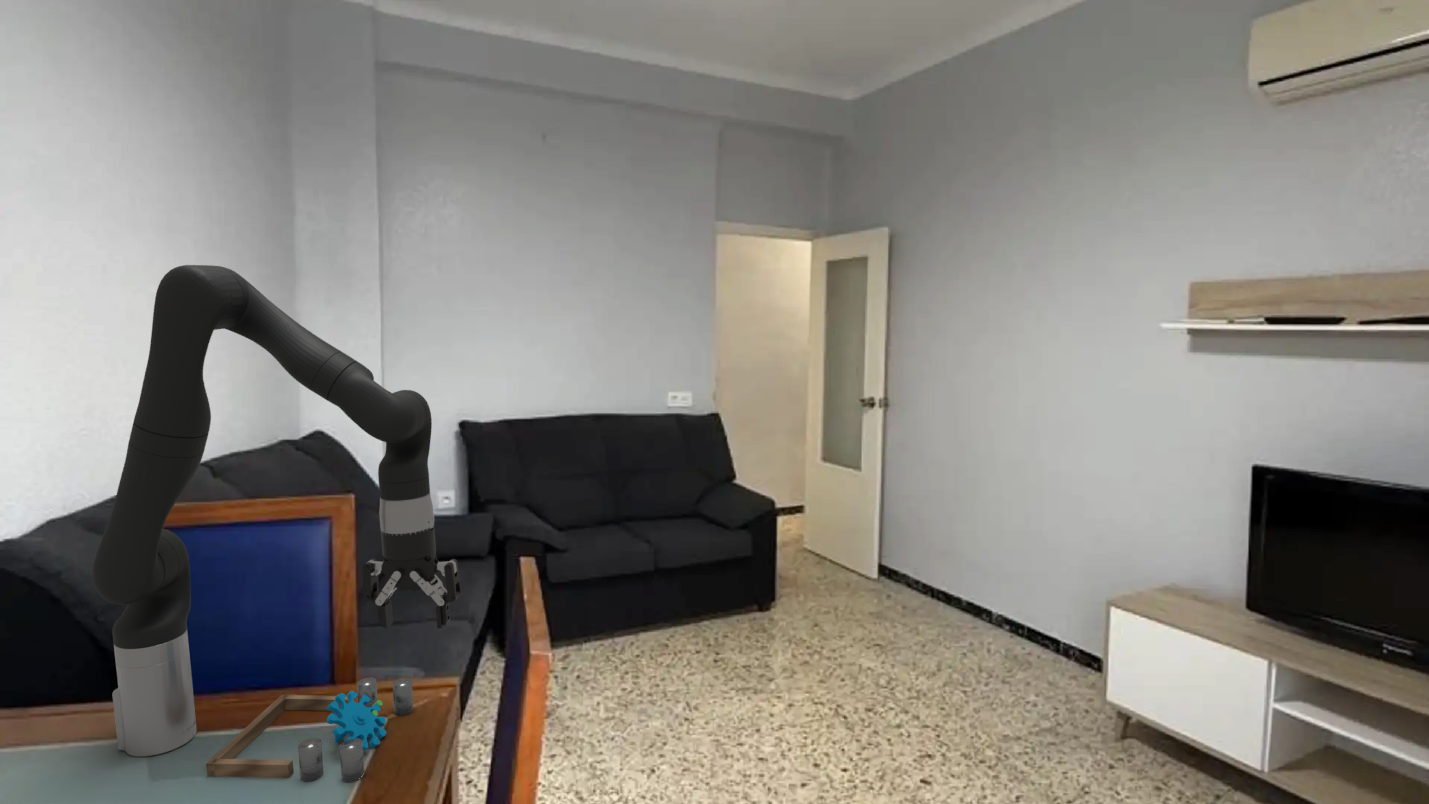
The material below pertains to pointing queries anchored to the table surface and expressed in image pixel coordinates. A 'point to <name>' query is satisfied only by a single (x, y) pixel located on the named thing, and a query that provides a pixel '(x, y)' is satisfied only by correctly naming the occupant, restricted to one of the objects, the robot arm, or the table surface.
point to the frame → (225, 757)
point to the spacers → (353, 747)
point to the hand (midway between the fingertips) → (415, 626)
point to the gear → (356, 719)
